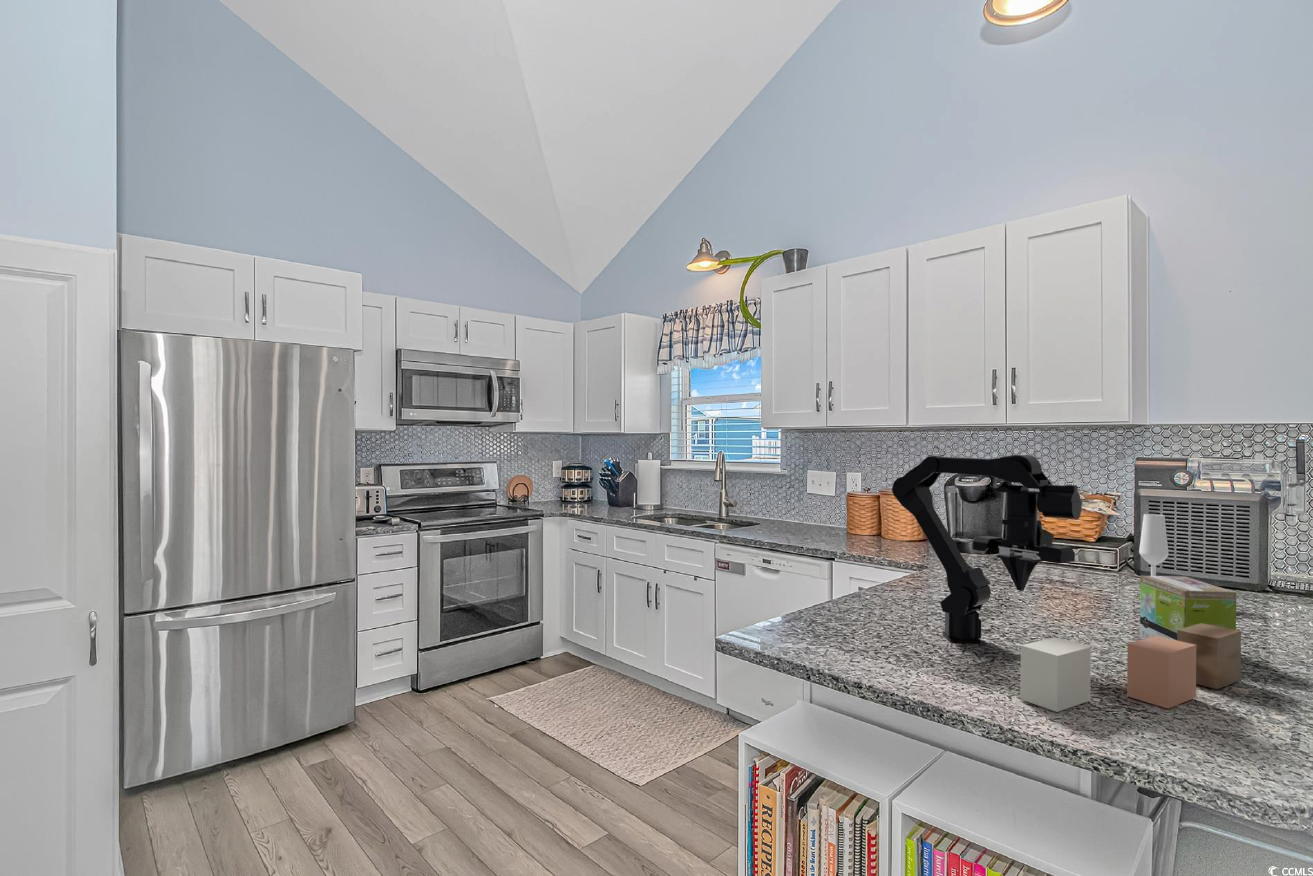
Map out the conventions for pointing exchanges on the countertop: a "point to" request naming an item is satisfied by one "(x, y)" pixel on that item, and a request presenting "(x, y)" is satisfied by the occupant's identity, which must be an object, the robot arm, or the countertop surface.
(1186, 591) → the tea box
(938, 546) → the robot arm
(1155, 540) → the champagne flute
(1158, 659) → the terracotta block
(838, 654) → the countertop surface
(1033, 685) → the cream block
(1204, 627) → the walnut block
